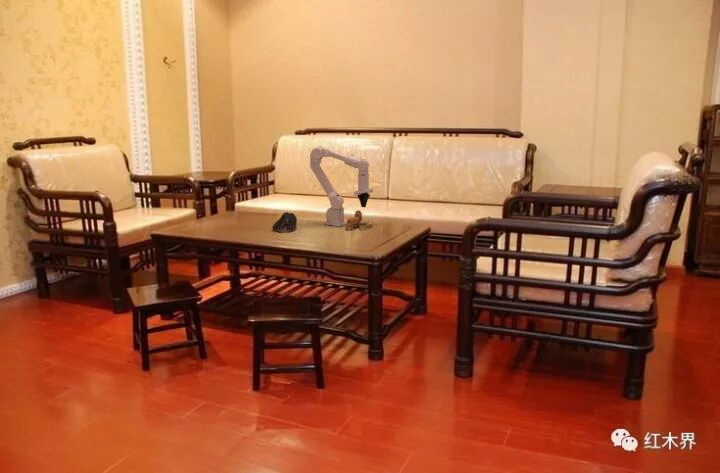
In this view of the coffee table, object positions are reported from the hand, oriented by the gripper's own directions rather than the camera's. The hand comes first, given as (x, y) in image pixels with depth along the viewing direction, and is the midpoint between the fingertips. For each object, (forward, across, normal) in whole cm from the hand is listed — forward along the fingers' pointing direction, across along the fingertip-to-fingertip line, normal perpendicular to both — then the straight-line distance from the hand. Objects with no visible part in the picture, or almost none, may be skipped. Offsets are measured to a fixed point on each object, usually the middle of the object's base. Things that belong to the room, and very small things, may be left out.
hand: (363, 207), depth 317 cm
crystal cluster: (+10, -34, +26) cm, 44 cm away
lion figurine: (+10, -10, -1) cm, 14 cm away
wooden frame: (+10, -8, -3) cm, 13 cm away
